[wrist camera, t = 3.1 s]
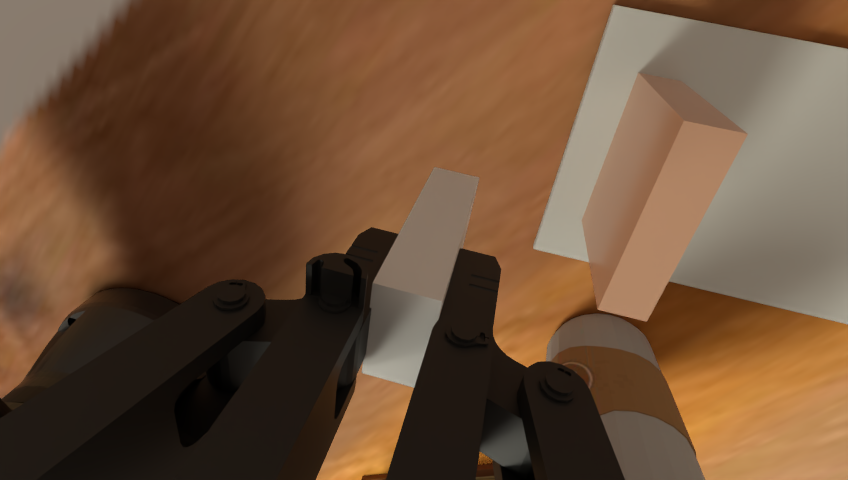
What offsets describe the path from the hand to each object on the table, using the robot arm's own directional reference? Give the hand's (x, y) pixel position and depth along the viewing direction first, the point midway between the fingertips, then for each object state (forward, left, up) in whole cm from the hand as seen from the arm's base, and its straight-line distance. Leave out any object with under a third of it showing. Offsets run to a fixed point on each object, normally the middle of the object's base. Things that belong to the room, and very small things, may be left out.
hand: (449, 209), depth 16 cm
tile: (+8, 0, -10) cm, 13 cm away
